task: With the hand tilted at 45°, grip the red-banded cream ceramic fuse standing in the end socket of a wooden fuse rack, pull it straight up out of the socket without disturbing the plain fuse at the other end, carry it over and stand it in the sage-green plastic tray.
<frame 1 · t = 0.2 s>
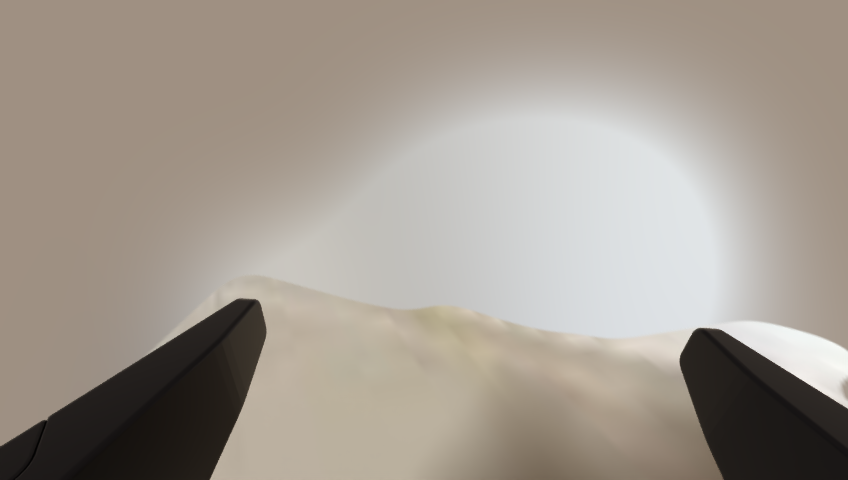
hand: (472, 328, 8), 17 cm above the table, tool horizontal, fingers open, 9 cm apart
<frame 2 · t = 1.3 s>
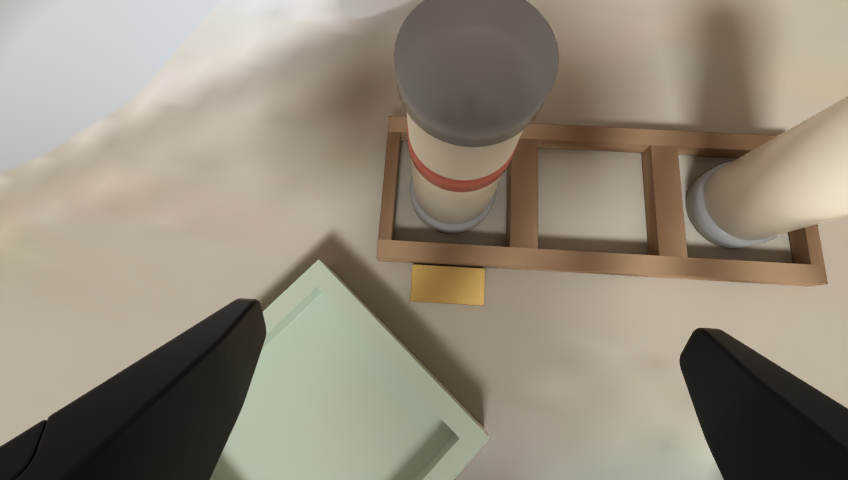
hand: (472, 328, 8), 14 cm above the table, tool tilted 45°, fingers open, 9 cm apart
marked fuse: (451, 194, 23), resting in wooden fuse rack
wooden fuse rack: (589, 201, 23), on the table
tray: (319, 428, 20), on the table
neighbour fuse: (728, 208, 23), resting in wooden fuse rack
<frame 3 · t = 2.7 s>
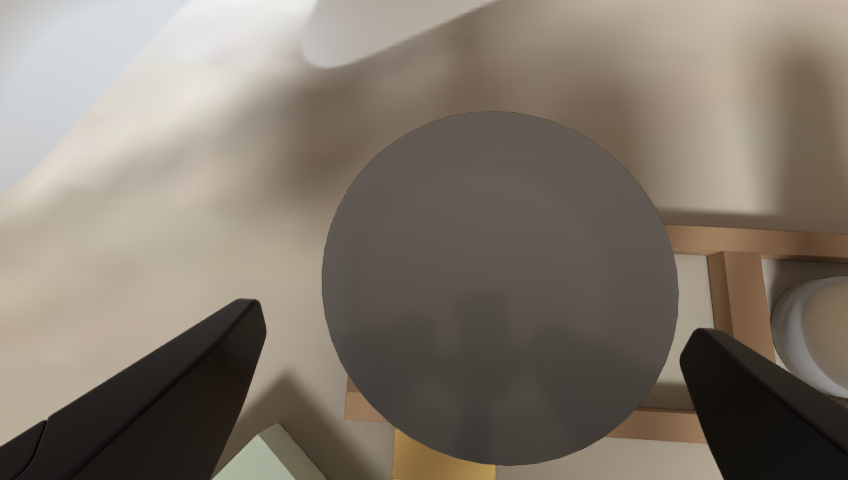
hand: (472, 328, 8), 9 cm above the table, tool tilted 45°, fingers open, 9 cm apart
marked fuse: (450, 315, 17), resting in wooden fuse rack
wooden fuse rack: (637, 325, 17), on the table
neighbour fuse: (829, 336, 17), resting in wooden fuse rack
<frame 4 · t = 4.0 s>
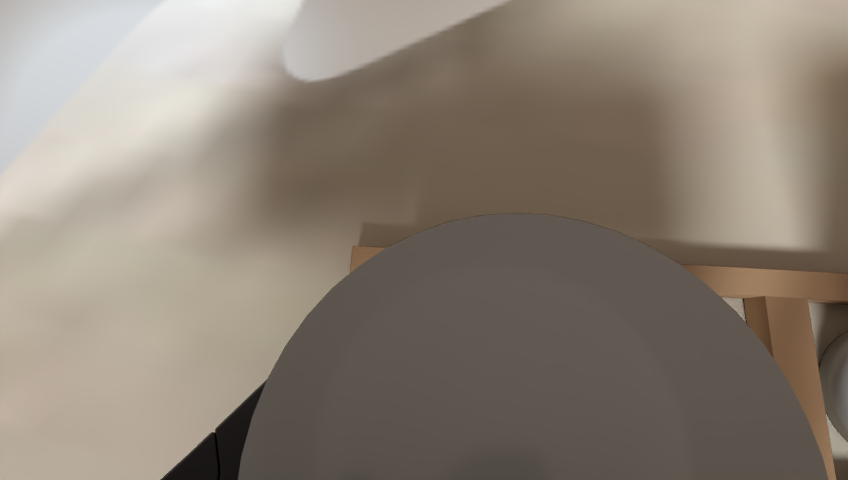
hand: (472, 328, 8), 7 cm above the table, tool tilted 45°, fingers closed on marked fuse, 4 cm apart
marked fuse: (450, 367, 15), resting in wooden fuse rack, touching gripper
wooden fuse rack: (665, 381, 15), on the table
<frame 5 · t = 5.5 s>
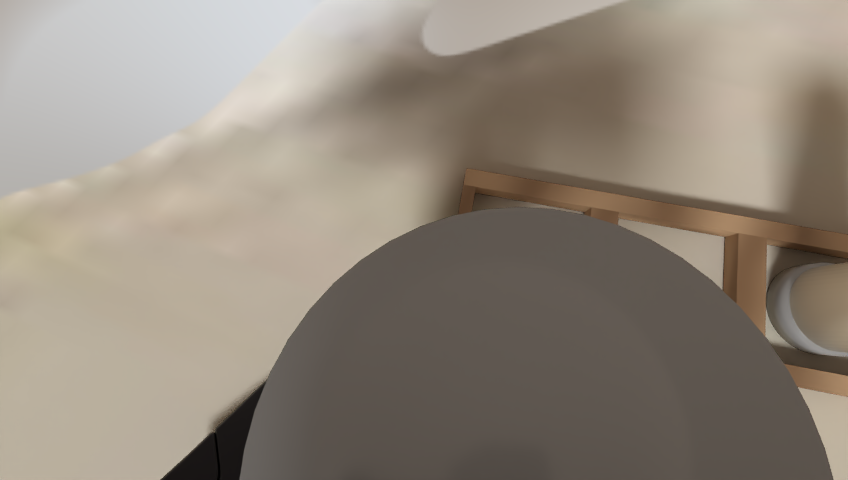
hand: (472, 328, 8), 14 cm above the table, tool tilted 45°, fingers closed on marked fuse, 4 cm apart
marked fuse: (451, 366, 15), point 7 cm above the table, touching gripper
wooden fuse rack: (663, 282, 22), on the table
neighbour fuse: (811, 309, 22), resting in wooden fuse rack
when the fingers open (9 cm above the table, at t = 7.2 s): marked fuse drops 1 cm, resting on tray.
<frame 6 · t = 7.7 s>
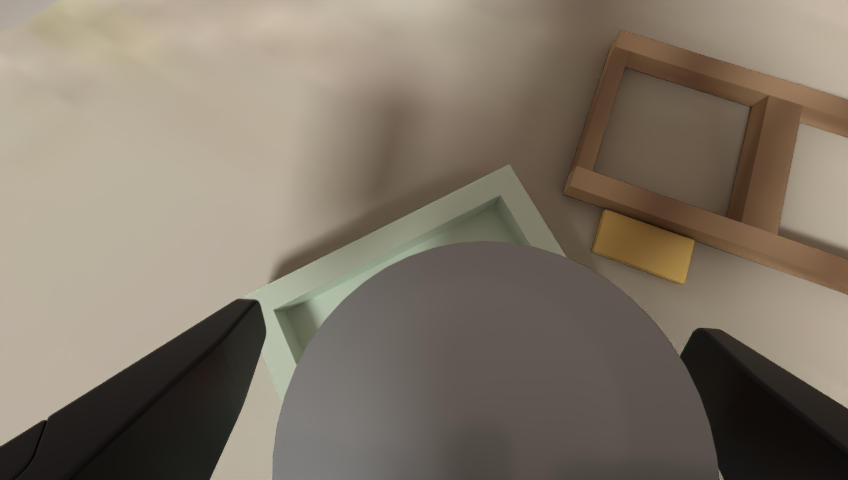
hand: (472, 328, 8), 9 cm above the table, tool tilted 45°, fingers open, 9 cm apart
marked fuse: (448, 366, 16), point 1 cm above the table, touching tray
wooden fuse rack: (843, 200, 18), on the table
tray: (447, 364, 16), on the table
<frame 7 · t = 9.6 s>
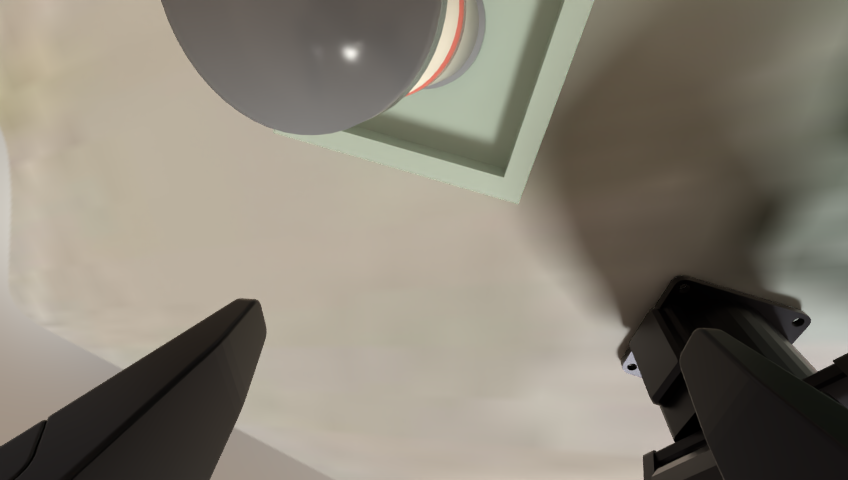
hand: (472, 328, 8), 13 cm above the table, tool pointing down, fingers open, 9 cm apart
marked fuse: (429, 27, 17), point 1 cm above the table, touching tray
tray: (430, 27, 17), on the table
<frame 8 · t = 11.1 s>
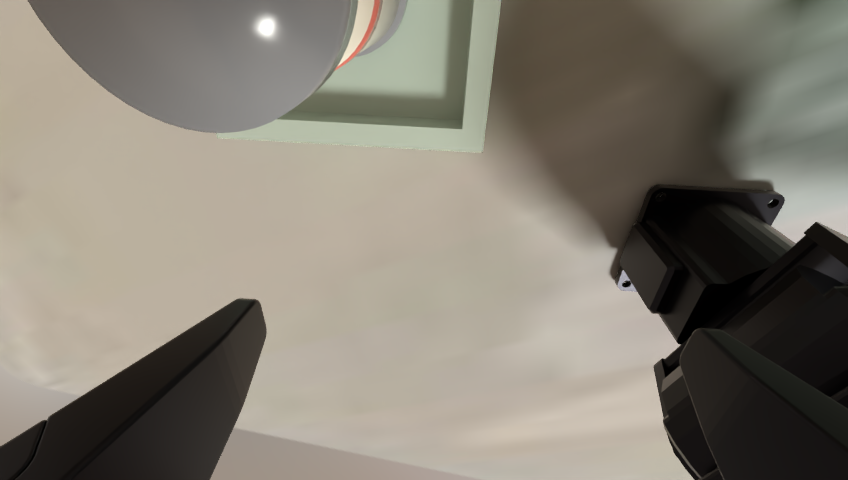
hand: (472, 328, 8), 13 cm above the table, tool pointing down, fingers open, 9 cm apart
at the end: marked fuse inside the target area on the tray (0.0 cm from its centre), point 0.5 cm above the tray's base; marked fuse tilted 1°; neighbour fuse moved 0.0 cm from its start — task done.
